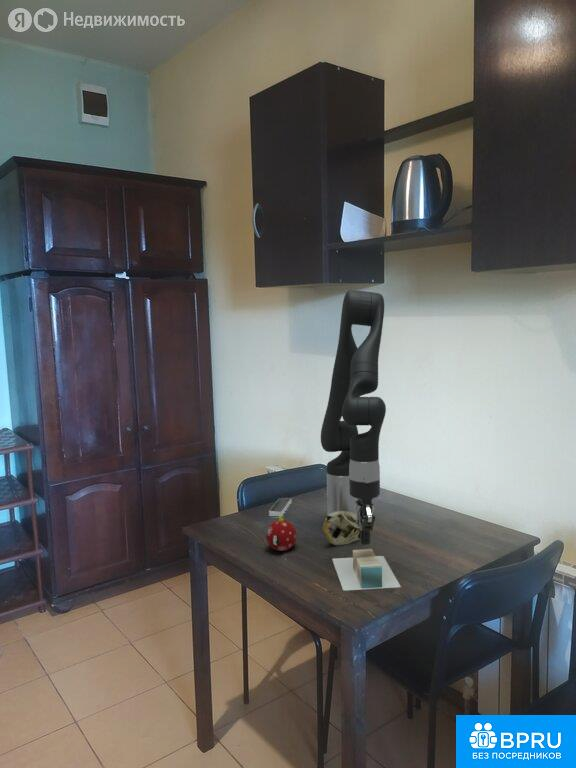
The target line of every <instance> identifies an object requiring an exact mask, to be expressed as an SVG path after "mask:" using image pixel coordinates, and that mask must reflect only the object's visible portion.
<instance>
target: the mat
mask: <svg viewBox="0 0 576 768" xmlns="http://www.w3.org/2000/svg"><path fill="white" fill-rule="evenodd" d="M376 557H377V559H378V561H379V563H380V565H381V566H382V587H377V588H361V586H360V584H359V581H358V579H357V576H356V574H355V572H354V569H353V557H340V558H339V557H338V558H331V559H332V562H333V565H334V569H335V571H336V574H337V577H338V579H339V583H340V585H341V588H342V591H343V592H344V591H345V592H346V591H360V590H374V589H391V588H393V589H394V588H396V589H397V588H401V587H402V586H401V584H400V582H399V581H398V579H397V577H396V575H395V574H394V572H393V571H392V569H391V567H390V565H389V563H388V561H387V560H386V558H385V556H384V555H376Z"/></svg>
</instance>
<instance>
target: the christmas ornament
mask: <svg viewBox="0 0 576 768" xmlns="http://www.w3.org/2000/svg"><path fill="white" fill-rule="evenodd" d="M265 535H266V536H265V538H266V542H267V543H268V545H269V546H270V548H271V549H273V550H275V551H276V552H277V551H278V552H284V551H288V550H290V549H292V547H293V546H294V545H295V543H296V541H297V539H298V538H297V536H298V535H297V530H296V528H295V525H293V524H292V523H291V522H290V521H288V520H286V519H284V515H283V516H280V517H278V520H275V521H273V522H272V523H270V525H269V526H268V527H267V530H266V534H265Z"/></svg>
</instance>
